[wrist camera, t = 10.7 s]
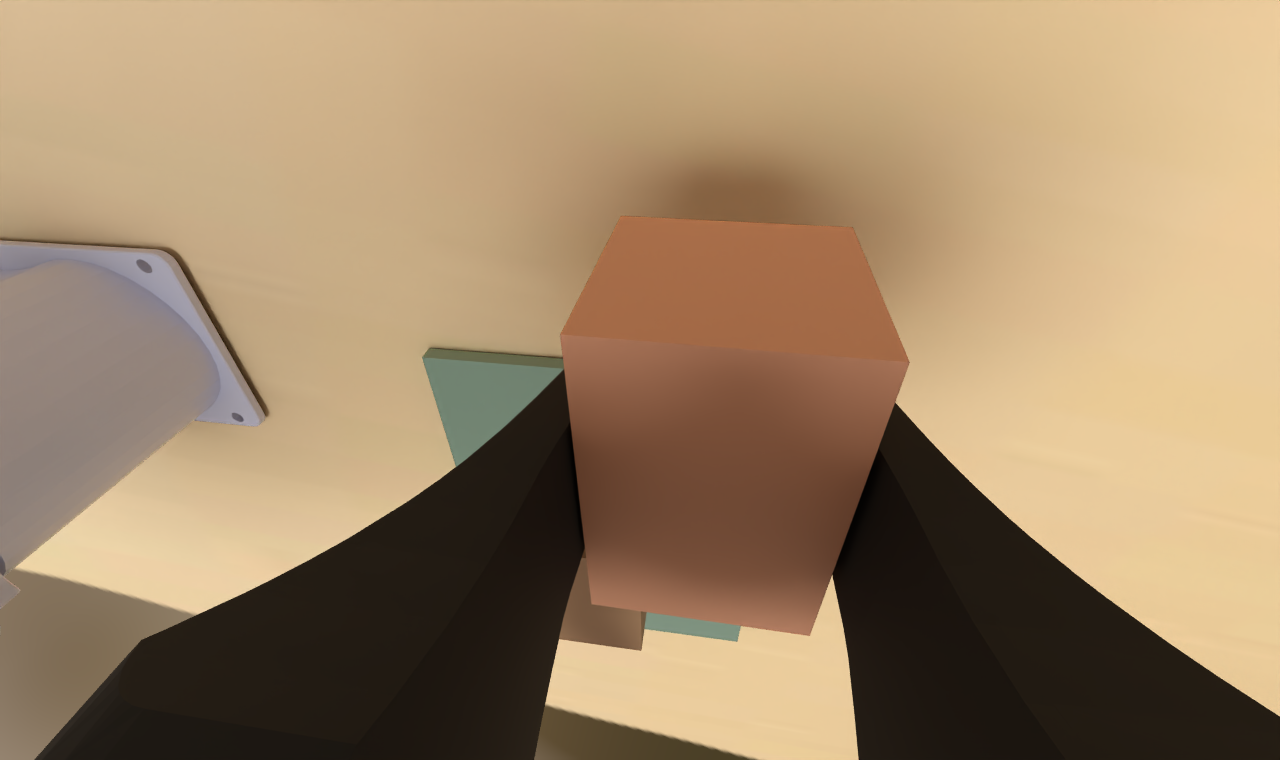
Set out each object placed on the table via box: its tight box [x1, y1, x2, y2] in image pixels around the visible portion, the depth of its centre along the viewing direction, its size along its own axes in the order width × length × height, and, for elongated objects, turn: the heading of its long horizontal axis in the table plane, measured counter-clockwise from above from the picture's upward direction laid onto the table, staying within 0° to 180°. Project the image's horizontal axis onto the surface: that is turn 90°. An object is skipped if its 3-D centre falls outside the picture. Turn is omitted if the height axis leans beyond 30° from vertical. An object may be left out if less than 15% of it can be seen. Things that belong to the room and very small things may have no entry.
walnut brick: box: [559, 549, 647, 651], centre depth 22 cm, size 4×6×4 cm, turn 0°
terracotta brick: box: [560, 216, 910, 636], centre depth 10 cm, size 4×6×4 cm, turn 0°
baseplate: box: [422, 348, 740, 642], centre depth 24 cm, size 13×17×1 cm
